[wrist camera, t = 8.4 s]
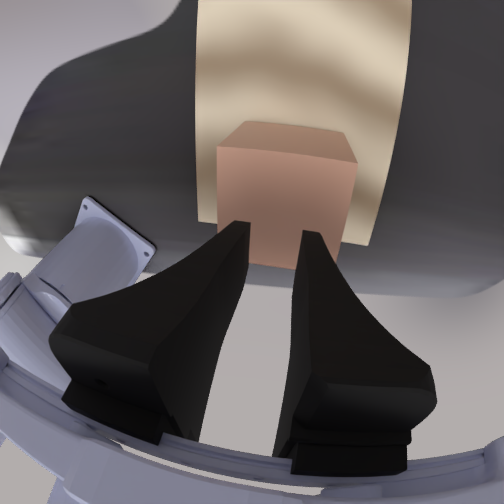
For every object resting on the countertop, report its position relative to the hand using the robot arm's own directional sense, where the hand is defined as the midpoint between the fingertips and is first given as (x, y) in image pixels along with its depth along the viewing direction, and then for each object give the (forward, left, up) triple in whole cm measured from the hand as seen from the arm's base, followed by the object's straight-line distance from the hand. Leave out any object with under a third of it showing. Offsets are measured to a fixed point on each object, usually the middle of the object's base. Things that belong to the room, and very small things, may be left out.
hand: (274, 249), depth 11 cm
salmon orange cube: (0, 0, -8) cm, 8 cm away
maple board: (+4, +3, -9) cm, 11 cm away
